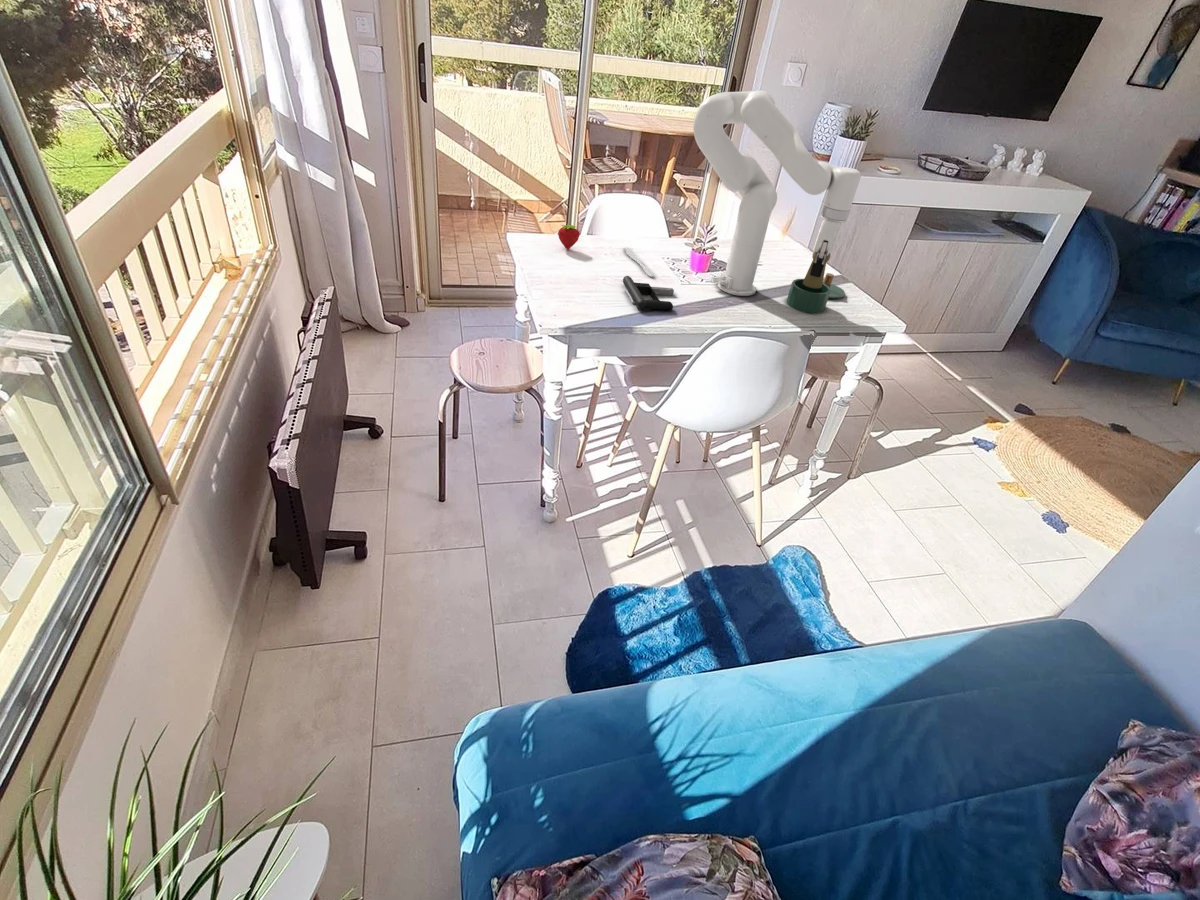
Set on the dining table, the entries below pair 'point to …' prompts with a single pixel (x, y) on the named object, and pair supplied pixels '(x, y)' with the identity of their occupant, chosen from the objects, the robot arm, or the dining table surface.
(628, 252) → the butter knife
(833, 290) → the pot lid
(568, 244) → the strawberry
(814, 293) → the pot
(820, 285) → the olive tapered upright piece
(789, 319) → the dining table surface
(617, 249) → the dining table surface
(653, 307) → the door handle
